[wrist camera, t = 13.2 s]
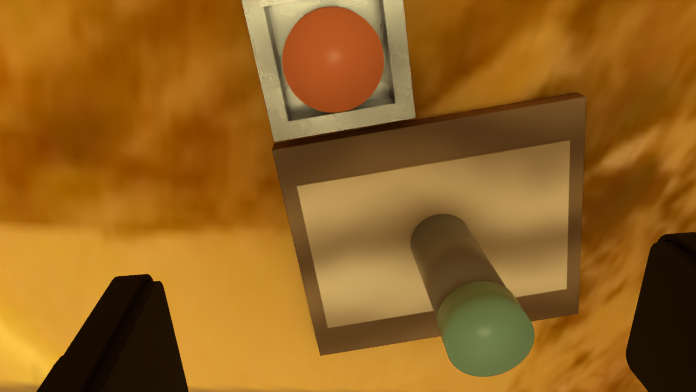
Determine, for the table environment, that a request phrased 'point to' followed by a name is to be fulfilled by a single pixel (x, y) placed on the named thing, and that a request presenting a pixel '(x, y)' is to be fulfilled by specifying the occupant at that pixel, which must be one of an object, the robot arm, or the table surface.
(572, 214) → the board
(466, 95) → the table surface
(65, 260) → the table surface
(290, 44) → the button
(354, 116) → the button housing
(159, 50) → the table surface
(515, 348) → the cylinder
